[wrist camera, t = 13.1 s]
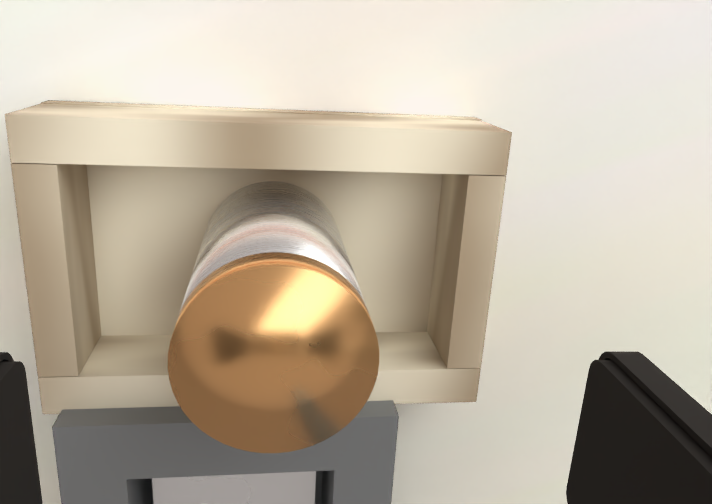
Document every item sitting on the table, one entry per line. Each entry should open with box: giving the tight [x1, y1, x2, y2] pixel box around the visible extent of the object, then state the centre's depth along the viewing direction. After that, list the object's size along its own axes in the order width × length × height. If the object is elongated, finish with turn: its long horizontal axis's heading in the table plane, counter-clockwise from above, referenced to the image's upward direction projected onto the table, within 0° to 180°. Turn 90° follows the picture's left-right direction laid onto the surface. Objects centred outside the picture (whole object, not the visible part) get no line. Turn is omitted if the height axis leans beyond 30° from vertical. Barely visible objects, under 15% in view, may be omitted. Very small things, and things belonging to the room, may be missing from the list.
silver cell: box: [167, 181, 379, 453], centre depth 15 cm, size 4×4×7 cm
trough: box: [5, 100, 512, 414], centre depth 17 cm, size 12×8×3 cm, turn 87°
